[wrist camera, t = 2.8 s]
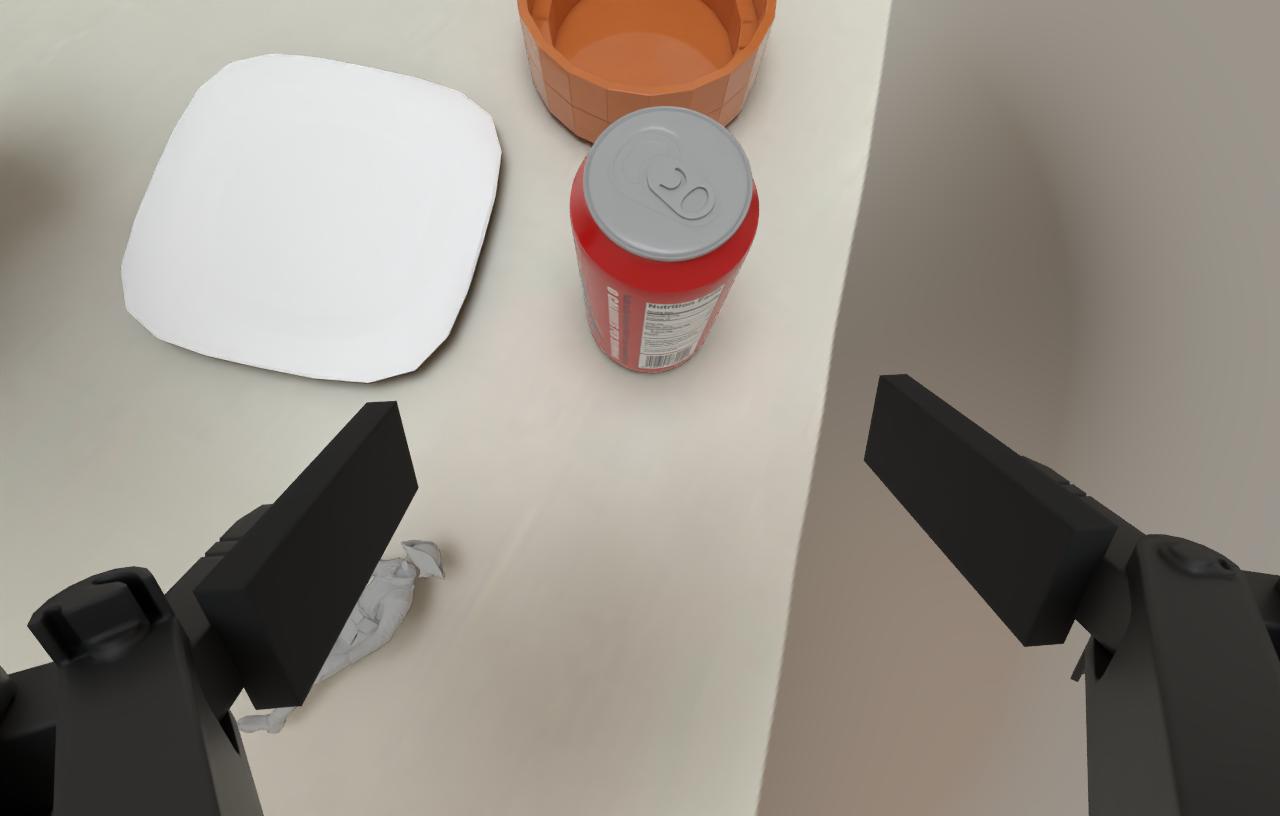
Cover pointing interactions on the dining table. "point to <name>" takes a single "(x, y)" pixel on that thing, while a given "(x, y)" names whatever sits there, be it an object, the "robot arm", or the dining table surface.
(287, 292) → the plate
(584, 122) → the bowl
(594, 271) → the soda can
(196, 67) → the dining table surface
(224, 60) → the dining table surface
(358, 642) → the soldier figure
